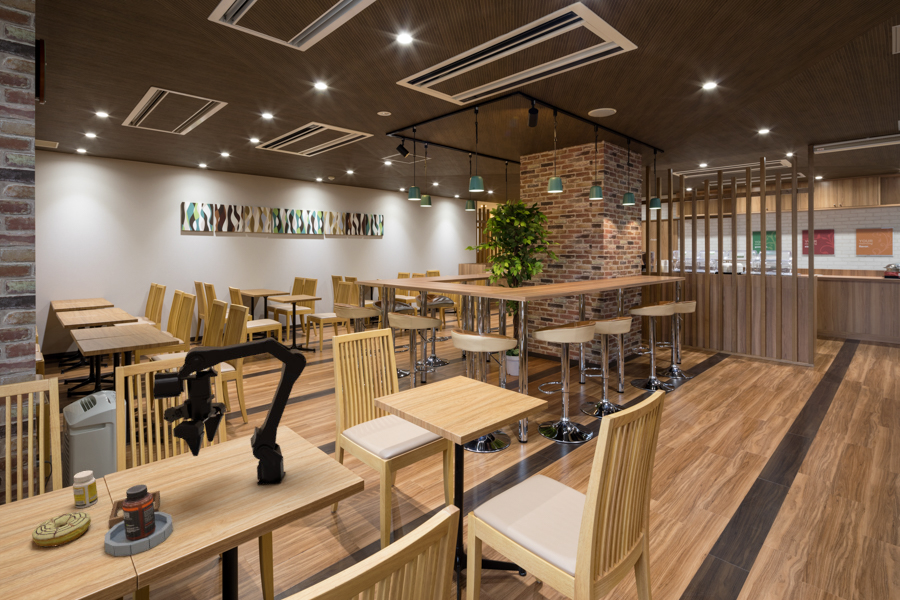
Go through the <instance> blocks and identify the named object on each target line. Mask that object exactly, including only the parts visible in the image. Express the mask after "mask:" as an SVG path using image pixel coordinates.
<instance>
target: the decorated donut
mask: <svg viewBox="0 0 900 600" xmlns="http://www.w3.org/2000/svg"><path fill="white" fill-rule="evenodd" d="M91 522H92V519H91V514H90V513H88V512H83V511H82V512H81V511H79V512H77V511H75V512H68V513H63V514H61V515H58V516H55V517H51V518H50V519H47V520H45V521H43V522H41V523H40V524H39V525H38V526H37V527H36V528H35V529H34V531H33V532H32V533H31V536H32V540H33V542H34V543H35V544H36V545H37V546H38V545H39V546H38V547H42V546H51V547H56V546H55V545H58V546H60V544H61V545H65V544H67V543H69V542H71V540H72V541H74V540H76V539H78V538H79V537H80V536H82V535H83V534H84V533H85V532H87V530H88V528H89V527H90V524H91ZM64 543H65V544H64Z"/></svg>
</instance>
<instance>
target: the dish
mask: <svg viewBox="0 0 900 600" xmlns="http://www.w3.org/2000/svg"><path fill="white" fill-rule="evenodd" d="M154 514H155V524H156V528H155V531H154V532H153V533H152V534H150V535H149V536H147V537H145V538H142V539H139V540H128V539H127V538H126V535H125V526H124V521H122V522H120V523H118V524H116V525H114V526H113V527H112V528H111V529H110V528H109V530H108V531H107V532H105V534H104V542H103V543H104V552H105V553H107V554H108V553H109V554H108V555H110V554H111V556H113V557H123V556H124V557H125V556H134V555H136V554H137V555H138V554H140V553H143V552H145V551H148V550H151V549H153V548H155V547H156V546H158V545H160V544H161V543H163V542H164V541H166V540H167V539H168V538H169V536H171V534H172V533H173V531H174V529H173V519H172V514H170V513H167V512H164V511H159V512H154Z"/></svg>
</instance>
